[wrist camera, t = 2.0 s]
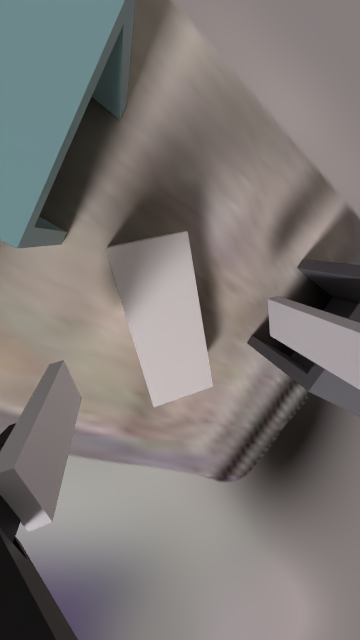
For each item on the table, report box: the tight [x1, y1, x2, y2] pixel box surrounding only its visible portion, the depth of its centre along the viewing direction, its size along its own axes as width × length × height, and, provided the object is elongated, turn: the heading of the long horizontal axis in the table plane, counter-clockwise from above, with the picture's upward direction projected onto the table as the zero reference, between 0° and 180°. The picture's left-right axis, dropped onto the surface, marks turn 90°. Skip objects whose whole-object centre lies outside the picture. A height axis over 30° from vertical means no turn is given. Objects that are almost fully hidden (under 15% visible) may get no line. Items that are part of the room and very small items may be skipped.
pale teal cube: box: [0, 0, 136, 248], centre depth 10 cm, size 7×9×8 cm
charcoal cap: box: [248, 259, 360, 416], centre depth 19 cm, size 7×9×8 cm
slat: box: [106, 231, 213, 407], centre depth 17 cm, size 12×5×4 cm, turn 11°
